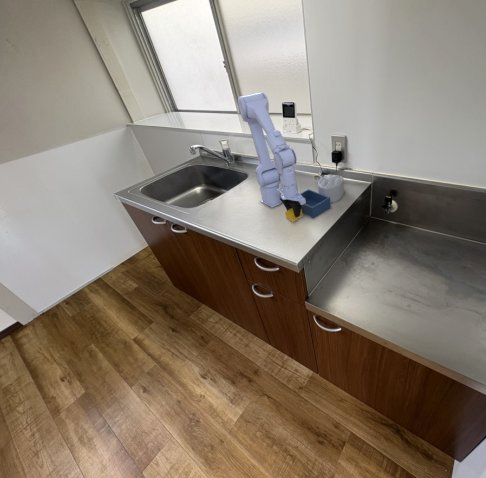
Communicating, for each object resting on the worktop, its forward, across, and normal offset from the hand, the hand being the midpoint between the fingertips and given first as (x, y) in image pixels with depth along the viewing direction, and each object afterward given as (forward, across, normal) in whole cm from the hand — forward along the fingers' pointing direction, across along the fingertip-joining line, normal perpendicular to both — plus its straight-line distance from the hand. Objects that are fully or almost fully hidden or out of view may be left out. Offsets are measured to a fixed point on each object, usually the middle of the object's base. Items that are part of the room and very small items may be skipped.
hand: (294, 214), depth 99 cm
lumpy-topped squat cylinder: (+3, -3, +24) cm, 24 cm away
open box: (+3, -2, +11) cm, 12 cm away
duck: (+1, 0, 0) cm, 1 cm away
